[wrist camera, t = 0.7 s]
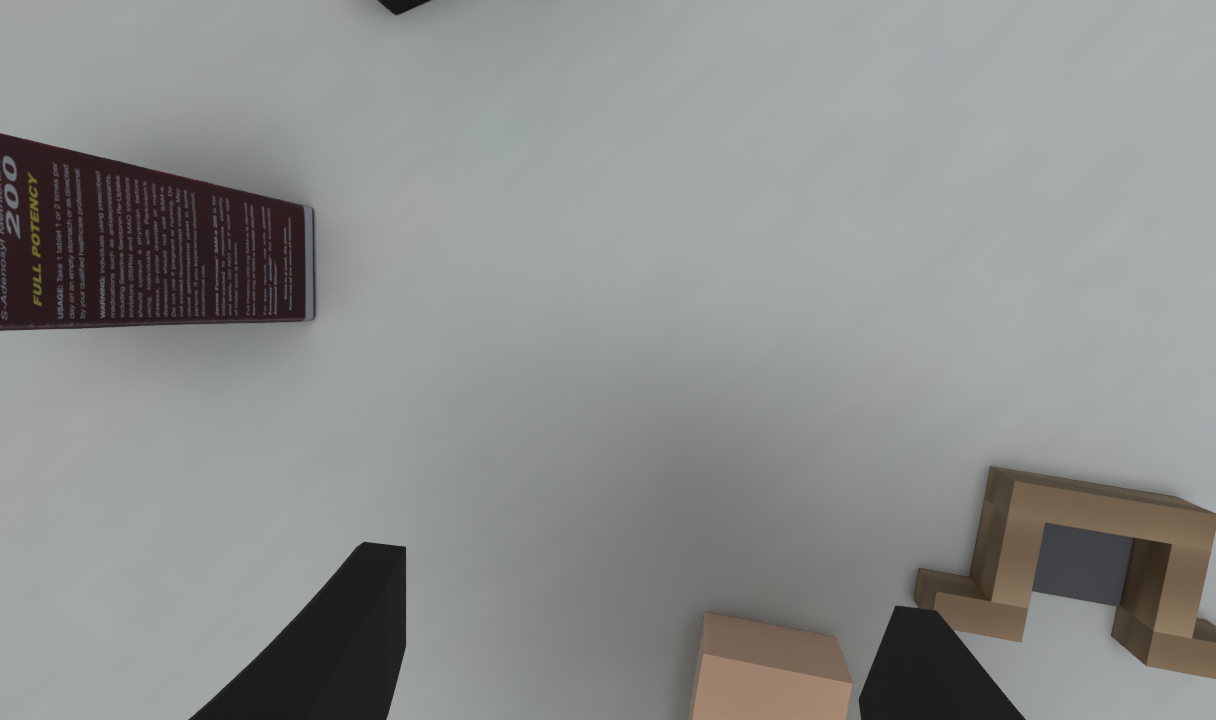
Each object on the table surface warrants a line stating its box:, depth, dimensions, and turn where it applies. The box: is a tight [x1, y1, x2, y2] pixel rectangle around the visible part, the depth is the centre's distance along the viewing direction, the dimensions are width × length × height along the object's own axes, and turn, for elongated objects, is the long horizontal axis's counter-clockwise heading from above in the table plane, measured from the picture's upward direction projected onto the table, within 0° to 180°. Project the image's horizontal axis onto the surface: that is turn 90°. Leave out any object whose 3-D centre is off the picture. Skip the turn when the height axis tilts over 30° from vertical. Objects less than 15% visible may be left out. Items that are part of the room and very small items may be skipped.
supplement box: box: [0, 133, 313, 331], centre depth 26 cm, size 9×5×16 cm, turn 89°
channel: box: [914, 467, 1216, 679], centre depth 30 cm, size 16×10×2 cm, turn 171°
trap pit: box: [1032, 522, 1134, 607], centre depth 30 cm, size 3×4×1 cm
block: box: [687, 612, 852, 720], centre depth 30 cm, size 5×5×4 cm
